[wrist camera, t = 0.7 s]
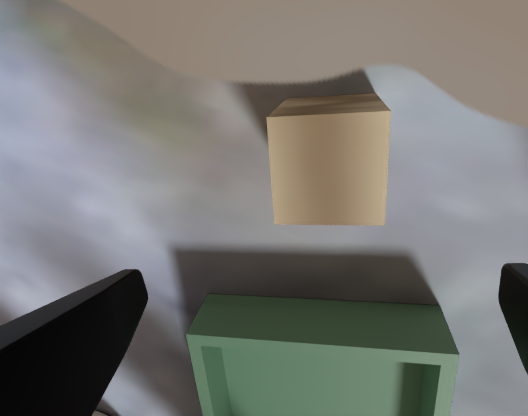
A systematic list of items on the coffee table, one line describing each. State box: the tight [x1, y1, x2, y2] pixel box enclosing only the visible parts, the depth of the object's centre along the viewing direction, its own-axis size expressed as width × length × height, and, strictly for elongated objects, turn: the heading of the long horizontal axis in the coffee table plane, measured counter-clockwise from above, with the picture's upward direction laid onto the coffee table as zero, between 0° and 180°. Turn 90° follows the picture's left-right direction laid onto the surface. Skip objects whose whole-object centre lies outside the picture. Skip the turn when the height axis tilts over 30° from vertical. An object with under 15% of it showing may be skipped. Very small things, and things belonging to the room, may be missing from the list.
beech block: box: [266, 93, 391, 225], centre depth 17 cm, size 4×4×6 cm
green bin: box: [186, 294, 459, 416], centre depth 25 cm, size 15×15×4 cm
